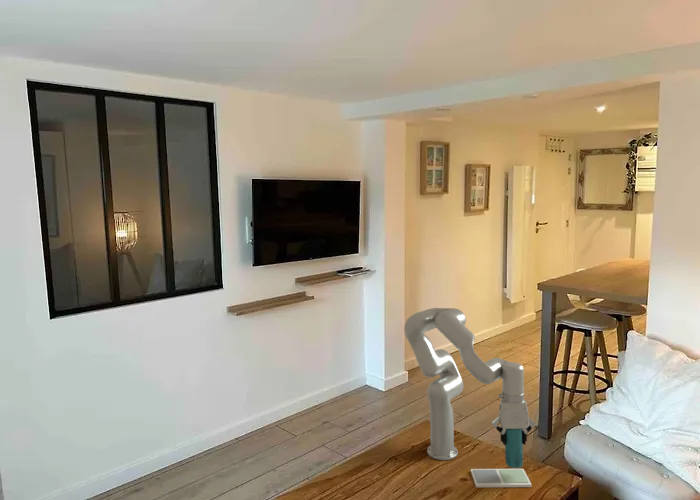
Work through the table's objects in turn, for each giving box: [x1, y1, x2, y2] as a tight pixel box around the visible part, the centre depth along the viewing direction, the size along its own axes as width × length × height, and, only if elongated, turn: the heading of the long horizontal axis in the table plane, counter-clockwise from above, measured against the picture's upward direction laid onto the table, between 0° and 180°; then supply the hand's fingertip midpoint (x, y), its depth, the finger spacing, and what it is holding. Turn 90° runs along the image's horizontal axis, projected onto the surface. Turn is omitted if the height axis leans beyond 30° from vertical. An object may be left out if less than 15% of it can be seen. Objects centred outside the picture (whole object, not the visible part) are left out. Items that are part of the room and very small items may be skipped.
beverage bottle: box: [504, 429, 524, 469], centre depth 193 cm, size 6×7×20 cm
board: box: [470, 468, 533, 488], centre depth 195 cm, size 20×11×1 cm, turn 87°
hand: (513, 442), depth 193 cm, fingers closed on beverage bottle, 6 cm apart
